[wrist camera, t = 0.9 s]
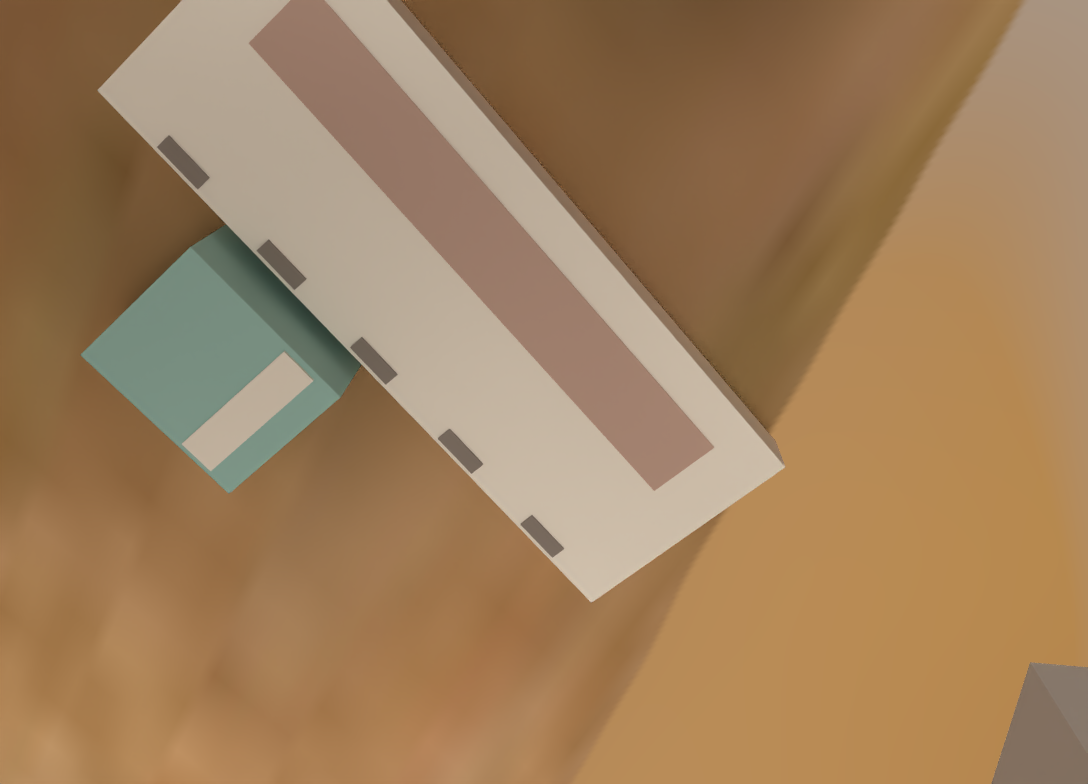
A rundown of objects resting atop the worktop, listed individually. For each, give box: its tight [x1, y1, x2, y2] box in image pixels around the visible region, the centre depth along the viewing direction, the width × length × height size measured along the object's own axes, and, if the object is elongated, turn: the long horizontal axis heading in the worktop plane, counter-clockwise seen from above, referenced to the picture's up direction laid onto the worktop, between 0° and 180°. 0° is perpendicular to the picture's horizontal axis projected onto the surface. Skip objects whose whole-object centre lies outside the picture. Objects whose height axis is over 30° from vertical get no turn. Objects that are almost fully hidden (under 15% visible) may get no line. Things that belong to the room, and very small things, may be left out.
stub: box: [81, 224, 362, 493], centre depth 32 cm, size 6×5×4 cm
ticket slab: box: [97, 0, 785, 603], centre depth 32 cm, size 22×8×2 cm, turn 41°
